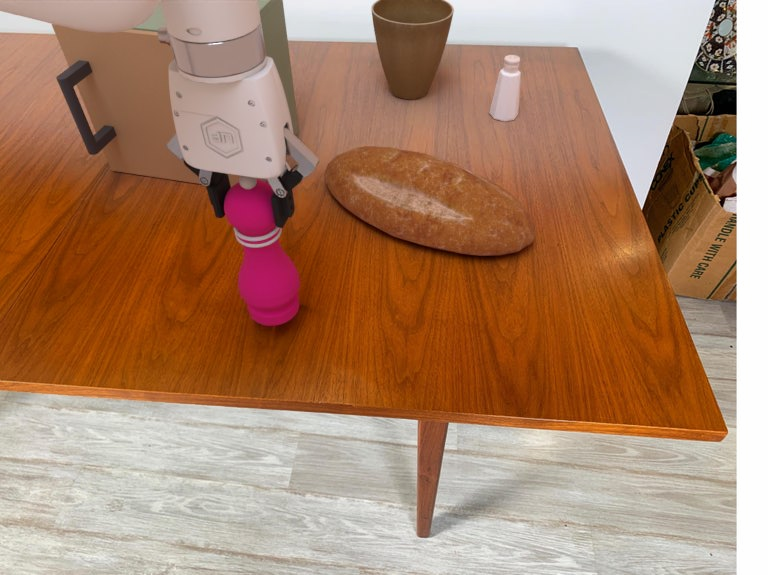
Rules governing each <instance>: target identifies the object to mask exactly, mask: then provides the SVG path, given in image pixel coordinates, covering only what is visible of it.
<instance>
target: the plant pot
mask: <svg viewBox="0 0 768 575" xmlns="http://www.w3.org/2000/svg"><path fill="white" fill-rule="evenodd" d="M370 9H371V10H370V11H371V16H372V25H373V32H374V37H375V42H376V47H377V52H378V55H379V59H380V63H381V67H382V70H383V74H384V77H385V79H386V82H387V85H388V88H389V90H390V92H391V94H392V95H393V96H394V97H396V98H398V99H403V100H417V99H421V98H423V97H425V96H426V95H427V94H428V91H429V90H430V87H431V86H432V83H433V81H434V79H435V76H436V74H437V72H438V68H439V66H440V64H441V60H442V57H443V55H444V52H445V48H446V44H447V43H448V42H447V41H448V37H449V34H450V30H451V25H452V22H453V17H454V13H455V9H454V7H453V4H451V3H450V2H449V1H447V0H376V1H375V2H374V3H373V4H372V5H371V8H370Z"/></svg>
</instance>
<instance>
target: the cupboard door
mask: <svg viewBox="0 0 768 575" xmlns="http://www.w3.org/2000/svg"><path fill="white" fill-rule="evenodd" d="M51 27H52V29H53V33H54V34H55V37H56V39H57V41H58V43H59V47H60V49H61V51H62V53H63V56H64V58H65V61H66V63H67V66H68V68H66V69H65V70H64V71H62V72H61V73H59V74H58V75H56V77H55V79H56V81H57V84H58V86H59V88H60V90H61V92H62V95H63V98H64V100H65V103H66V104H67V106H68V109H69V111H70V114H71V116H72V118H73V121H74V123H75V125H76V127H77V130H78V132H79V134H80V136H81V139H82V142H83V144H84V147H85V148H86V150H87V153H88V155H91V156H94V155H97V154H99V153H100V152H102V151H103V153H104V157H105V158H106V160H107V164H108V166H109V168H110V170H111V172H117V173H118V172H119V173H124V174H129V175H130V174H131V175H137V176H145V177H149V178H150V177H151V178H156V179H157V178H158V179H163V180H170V181H171V180H172V181H178V182H185V183H191V184H197V185H202V184H201V183H200V182H199V180H198V178H199V177H198V176H197V175H196V174H195V173H193V172H192V171H191V170H190V169H189V168H188V167H186V166H185V164H184V161H183V160H180V159H179V158H178V157H177V156H176V155H174V154H173V153H172V152H171V151H170V150H169V149H168V148H167V143H168V142H169V141H170V140H171V138H172V137H173V136H174V135H175V134H176V129H175V124H174V119H173V113H172V107H171V100H170V90H169V64H170V62H172V61H173V60H174V59H175V58H174V56H173V53H172V49H171V46H169V45H168V44H163V43H160V41H159V39H158V32H153V31H143V30H133V29H129V30H127V31H121V32H116V33H96V32H88V31H82V30H77V29H72V28H68V27H64V26H59V25H55V24H51ZM75 86H76V88H77V90H78V92H79V95H80V97H81V99H82V102H83V105H84V108H85V110H86V112H87V115H88V117H89V119H90V122H91V124H92V126H93V129H94V131H95V133H93V131H92V129H91V126H90V123H89V121H88V119H87V116H86V114H85V112H84V109H83V107H82V104H81V102H80V99H79V98H78V94H77V92H76V90H75ZM228 177H229V181H230V186H231V187H232V186H234V185H235V184H237V183H238V182H239V177H240V176H239V175H232V174H228ZM256 179H257V180H259V178H256Z"/></svg>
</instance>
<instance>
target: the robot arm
mask: <svg viewBox="0 0 768 575" xmlns="http://www.w3.org/2000/svg"><path fill="white" fill-rule="evenodd" d="M159 3H160V6H161V9H162V13H163V17H164V20H165V24H166V27H160V28H159V29H158V39H159V41H160V43H163V44H168V45H169V46H171V49H172V53H173V56H174V58H175V59H174V60H173V61H172V62H170V64H169V90H170V100H171V107H172V113H173V119H174V124H175V129H176V134H175V135H174V136H173V137H172V138H171V140H170V141H169V142H168V143H167V148H168V149H169V150H170V151H171V152H172V153H173V154H174V155H176V156H177V157H178V158H179V159H180V160H183V161H184V164H185V166H186V167H188V168H189V169H190V170H191V171H192V172H193V173H195V174H196V175H197V176H198V177H199V178H198V180H199V182H200V183H201V184H200V185H202V186H203V187H206V191H207V196H208V198H209V202H210V205H211V206H212V208H213V212H214V216H215V218H218V219H222V218H224V217H226V215H225V212H224V200H225V197H226V194H227V192H228V191H229V190H230V188H231V186H230V181H229V177H228V174H232V175H239V176H246V177H253V178H261V179H267V181H266V182H267V183H269V184H270V186H271V187H272V189H273V191H274V193H273V194H272V196H271V204H272V209H273V215H274V220H275V225H276V226H277V227H279V228H282V229H283V228H284V227H285V225H286V224H287V222H288V220H289V218H292V217H293V215H294V213H295V208H296V207H295V206H296V205H295V199H294V193H293V189H294V188H296V187H297V186H299V185H300V183H301V182H302V181H303V180H304V179H306V178H307V177H308V176H310V175H311V174H312V173H313V172H315V170H316V169H317V167H318V165H319V163H320V158H319V157H318V156H317V155H316V154H315V153H314V152H312V150H310V149H309V147H307V145H305V143H303V142H302V141H301V139H299V138H298V137H297V135H296V136H295V135H294V134H293V128H292V122H291V117H290V112H289V108H288V104H287V100H286V96H285V92H284V89H283V86H282V82H281V79H280V76H279V74H278V71H277V68H276V66H275V63H274V61H273V59H272V58H271V57H268V56H266V51H265V45H264V38H263V32H262V25H261V19H260V12H259V6H258V0H0V12H3V13H8V14H11V15H15V16H20V17H24V18H27V19H31V20H35V21H40V22H44V23H48V24H51V25H52V24H55V25H59V26H64V27H68V28H72V29H77V30H82V31H88V32H96V33H116V32H121V31H127V30H129V29H132V28H134V27H137V26H139V25H140V24H142V23H143V22H145V21H146V20H148V18H149V17H150V16H151V15H152V14H153V13H154V12H155V10H156V9H157V7H158V5H159ZM287 157H290V158H292V160H294V162H296V163H297V164H295V166H293V167H292V168H291V167H290V164H289V163H288V161H287Z"/></svg>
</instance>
